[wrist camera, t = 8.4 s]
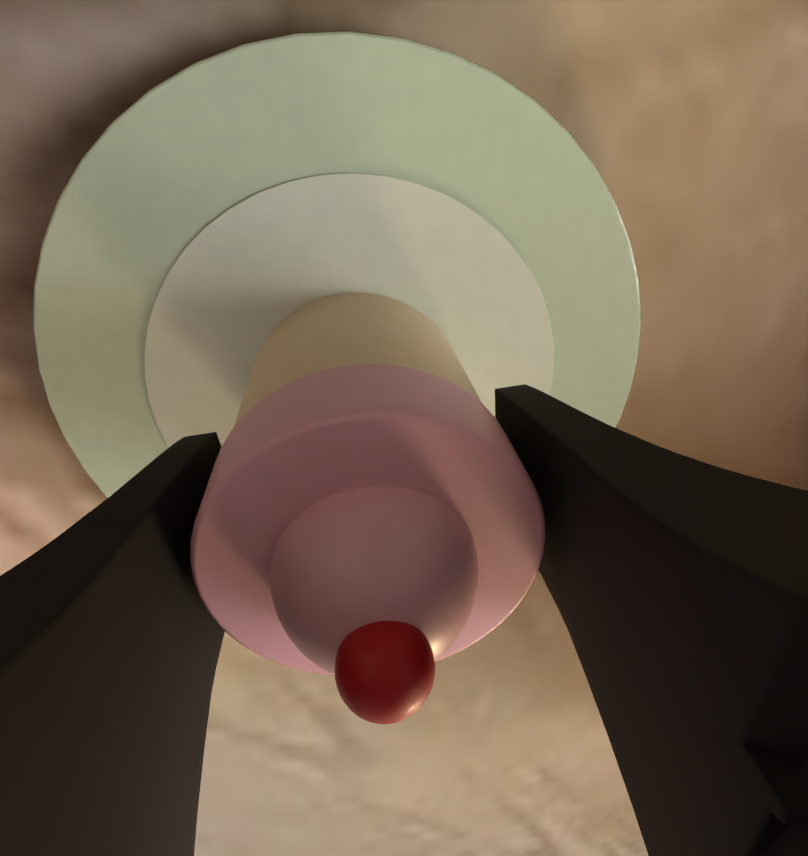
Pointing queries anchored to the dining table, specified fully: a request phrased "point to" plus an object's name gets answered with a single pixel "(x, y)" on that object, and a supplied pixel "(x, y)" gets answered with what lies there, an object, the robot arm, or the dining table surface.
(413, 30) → the dining table surface
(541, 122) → the plate
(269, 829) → the dining table surface
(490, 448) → the cupcake
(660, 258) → the dining table surface
